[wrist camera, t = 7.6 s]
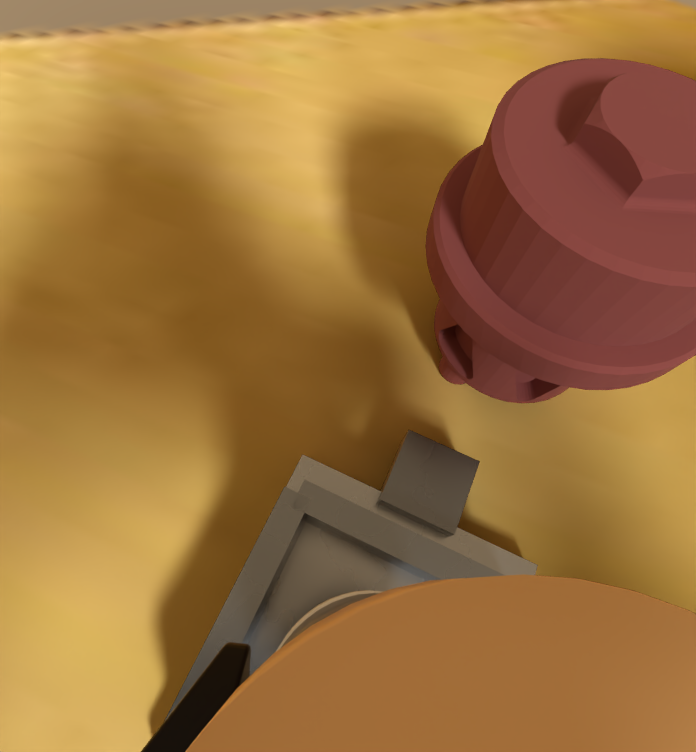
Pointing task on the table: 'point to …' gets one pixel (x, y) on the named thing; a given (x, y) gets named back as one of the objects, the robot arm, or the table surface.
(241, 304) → the table surface
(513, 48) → the table surface
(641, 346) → the mechanical component
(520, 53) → the table surface
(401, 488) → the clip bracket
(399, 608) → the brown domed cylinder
